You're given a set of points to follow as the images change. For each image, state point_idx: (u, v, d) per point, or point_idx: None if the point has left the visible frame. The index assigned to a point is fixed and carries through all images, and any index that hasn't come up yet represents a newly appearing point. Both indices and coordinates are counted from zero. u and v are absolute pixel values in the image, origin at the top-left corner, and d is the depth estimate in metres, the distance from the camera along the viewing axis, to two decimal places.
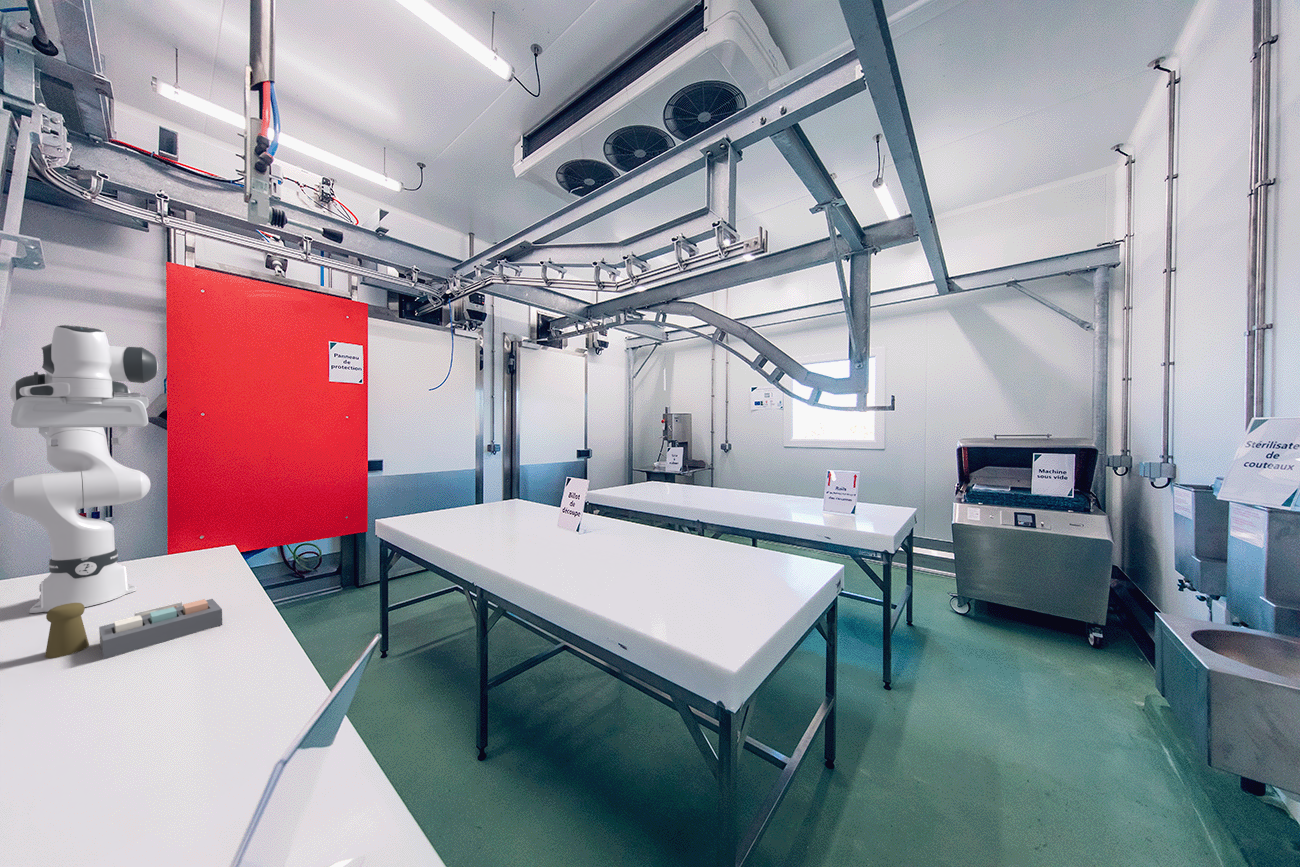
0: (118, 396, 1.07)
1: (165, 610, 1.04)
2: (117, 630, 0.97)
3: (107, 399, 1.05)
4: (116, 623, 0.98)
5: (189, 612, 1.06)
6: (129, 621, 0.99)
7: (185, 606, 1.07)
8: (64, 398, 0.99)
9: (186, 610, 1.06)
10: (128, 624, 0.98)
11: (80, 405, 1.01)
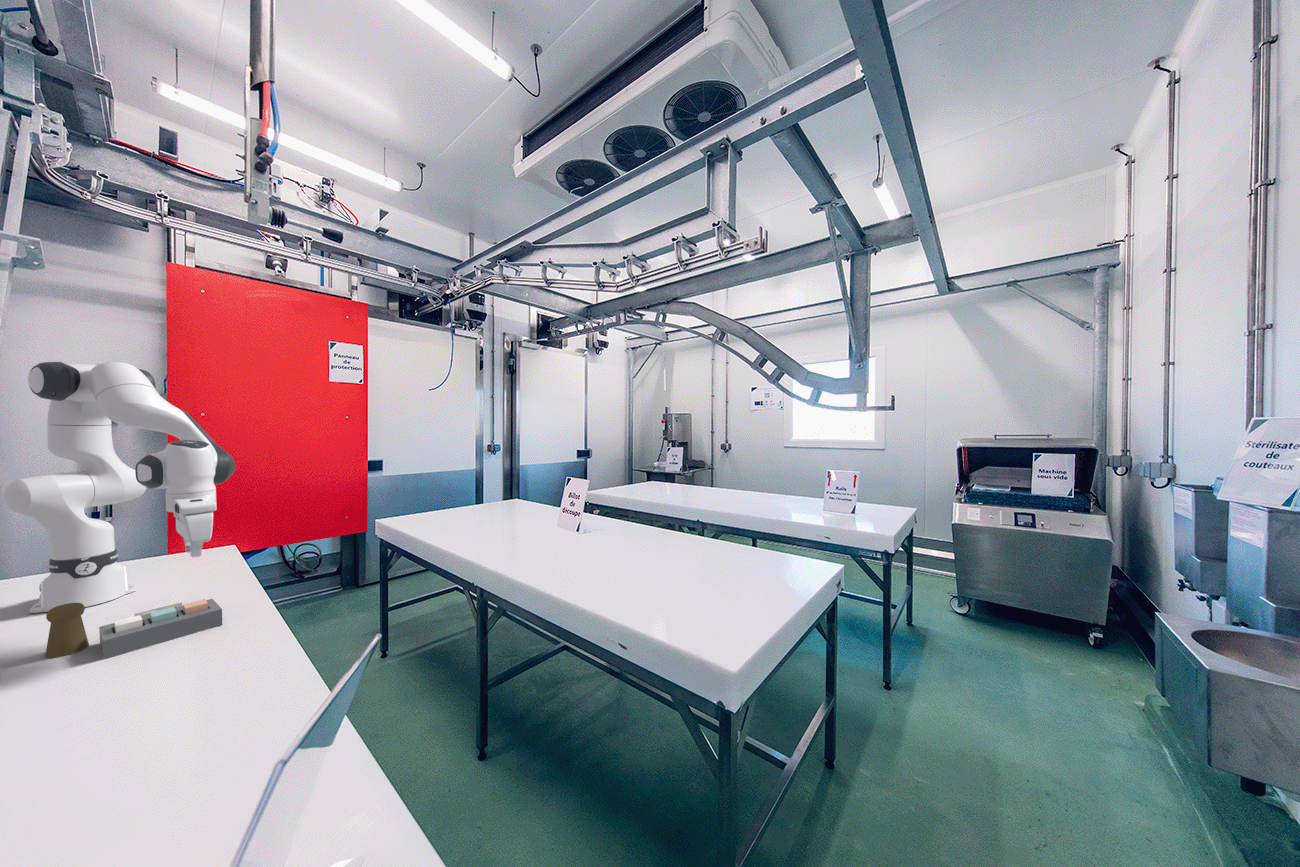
0: None
1: (165, 610, 1.04)
2: (117, 630, 0.97)
3: None
4: (116, 623, 0.98)
5: (189, 612, 1.06)
6: (129, 621, 0.99)
7: (185, 606, 1.07)
8: None
9: (186, 610, 1.06)
10: (128, 624, 0.98)
11: None
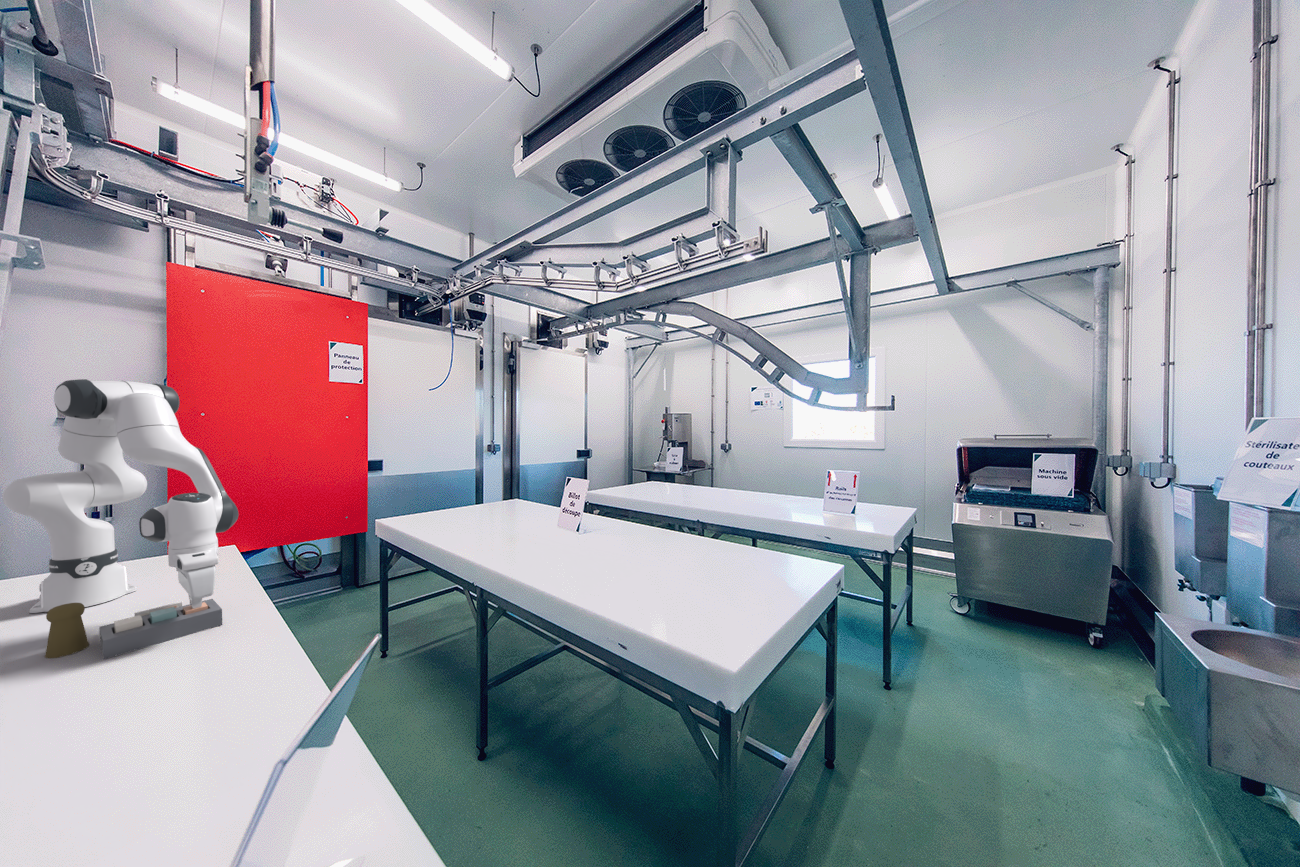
0: None
1: (165, 610, 1.04)
2: (117, 630, 0.97)
3: None
4: (116, 623, 0.98)
5: None
6: (129, 621, 0.99)
7: (185, 609, 1.07)
8: None
9: (186, 613, 1.06)
10: (128, 624, 0.98)
11: None
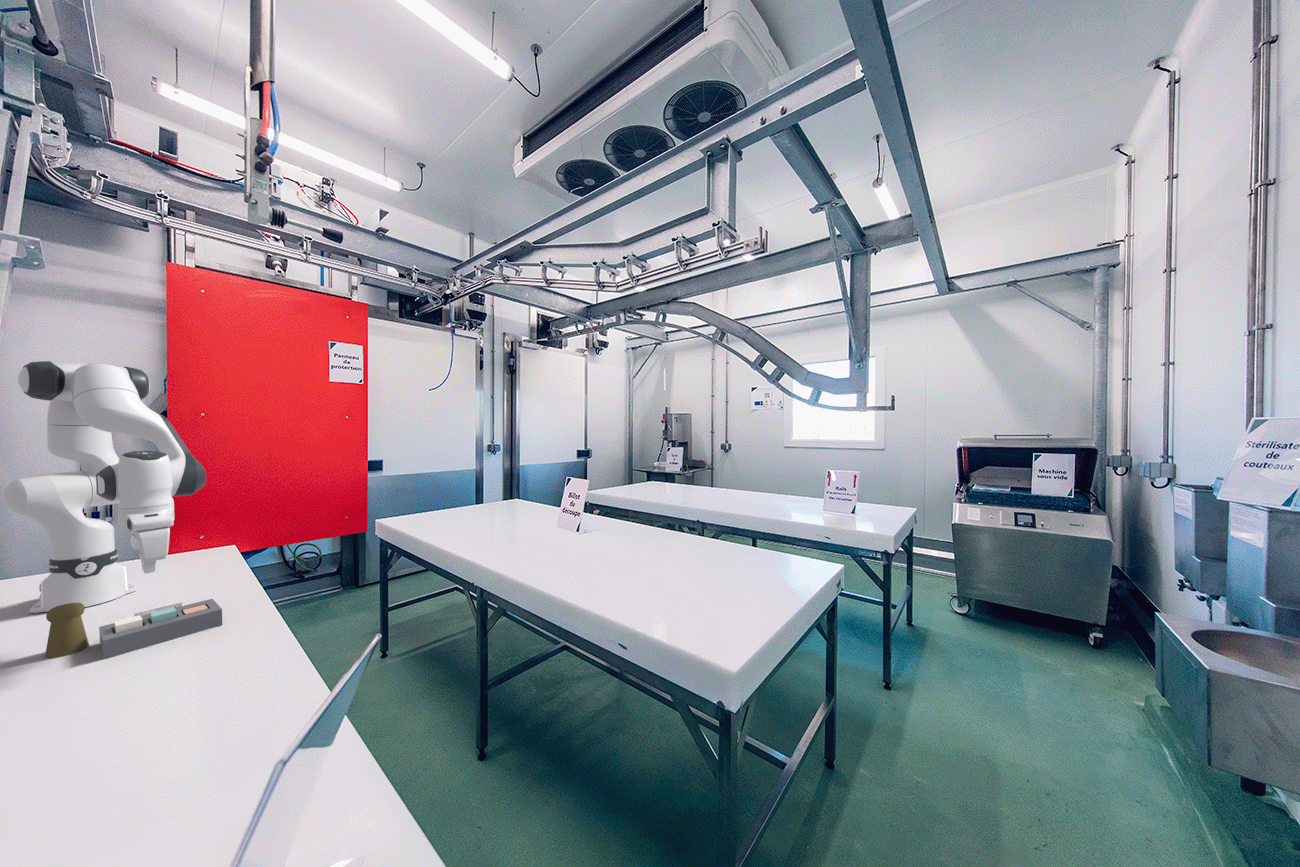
0: None
1: (165, 610, 1.04)
2: (117, 630, 0.97)
3: None
4: (116, 623, 0.98)
5: None
6: (129, 621, 0.99)
7: (185, 612, 1.07)
8: None
9: None
10: (128, 624, 0.98)
11: None
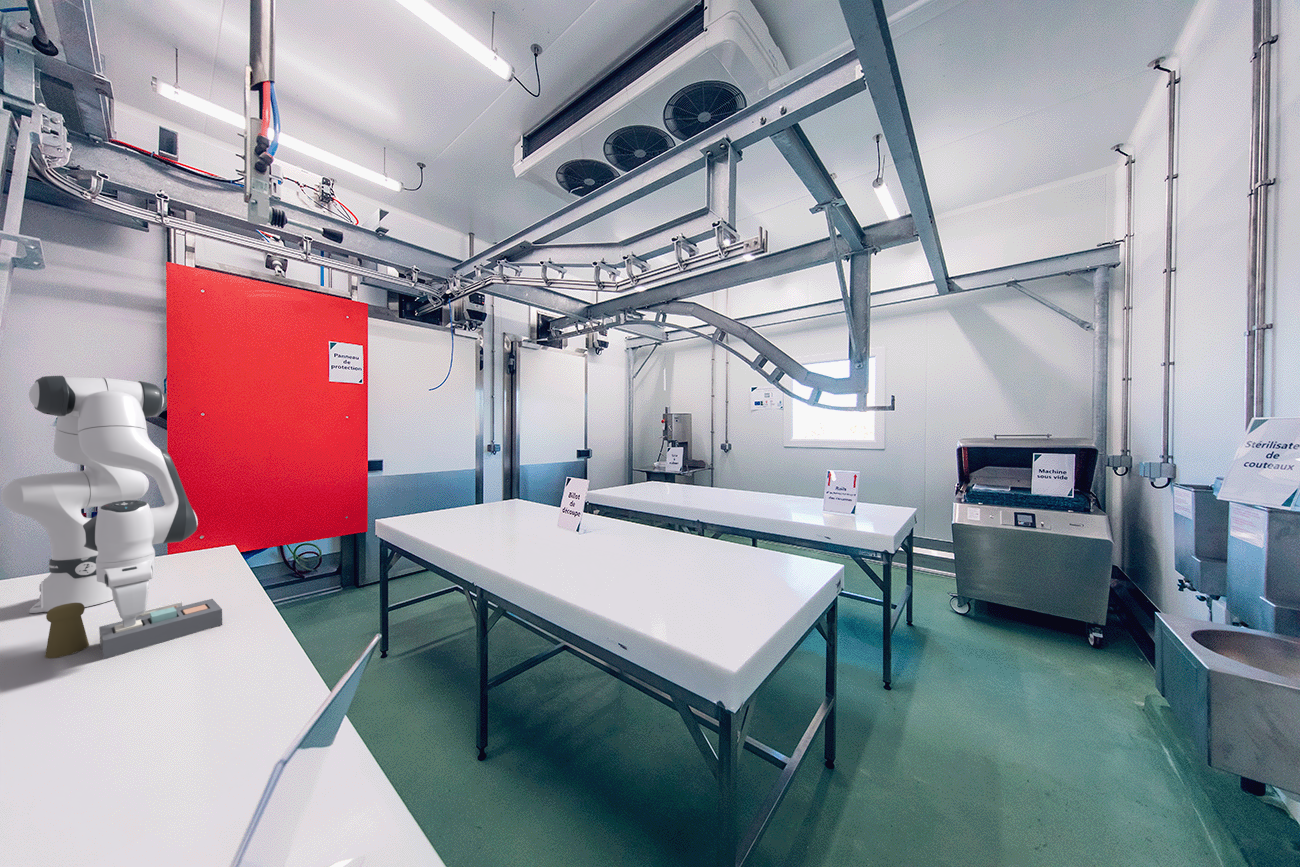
0: None
1: (165, 610, 1.04)
2: None
3: None
4: (116, 628, 0.98)
5: None
6: (129, 626, 0.99)
7: (185, 612, 1.07)
8: None
9: None
10: (128, 628, 0.98)
11: None
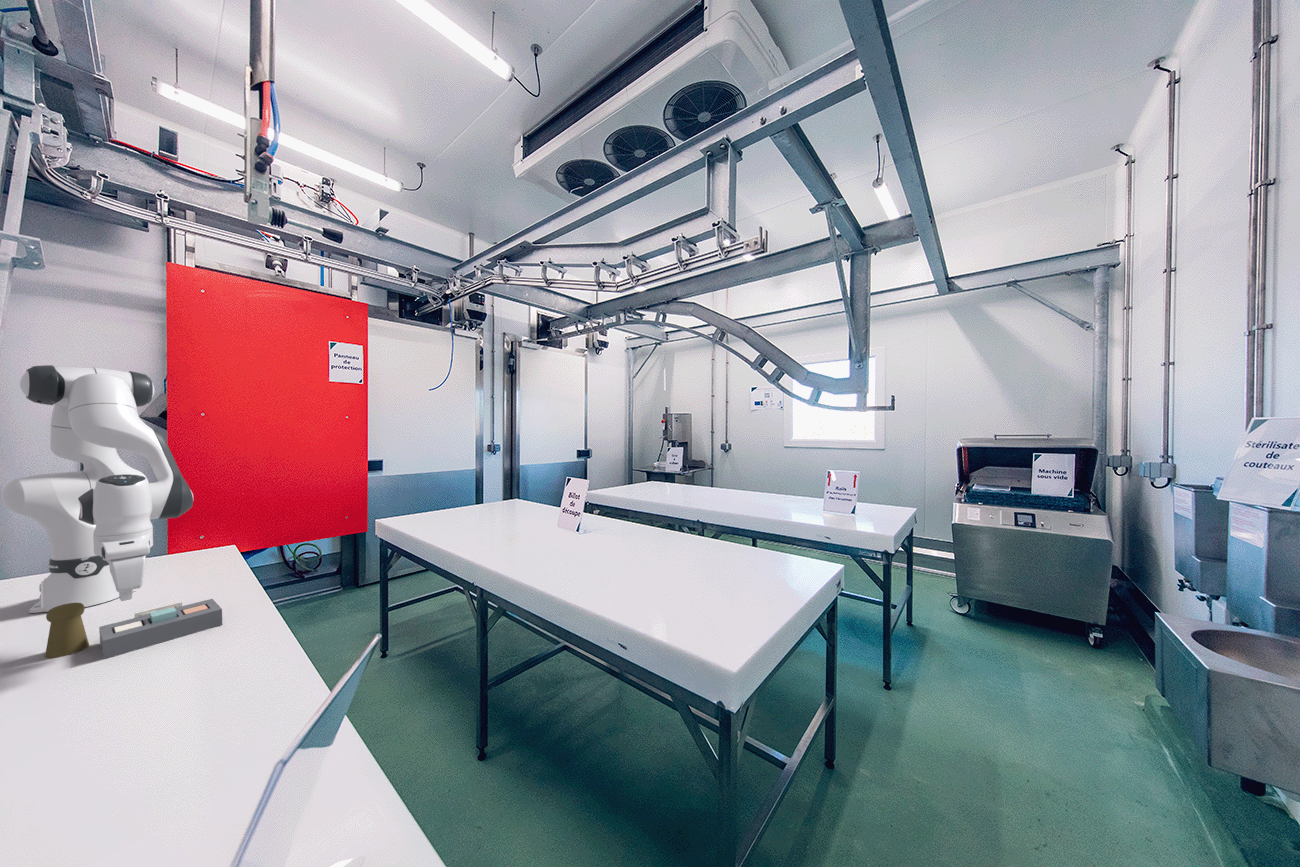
0: None
1: (165, 610, 1.04)
2: None
3: None
4: (116, 629, 0.98)
5: None
6: (129, 627, 0.99)
7: (185, 612, 1.07)
8: None
9: None
10: None
11: None
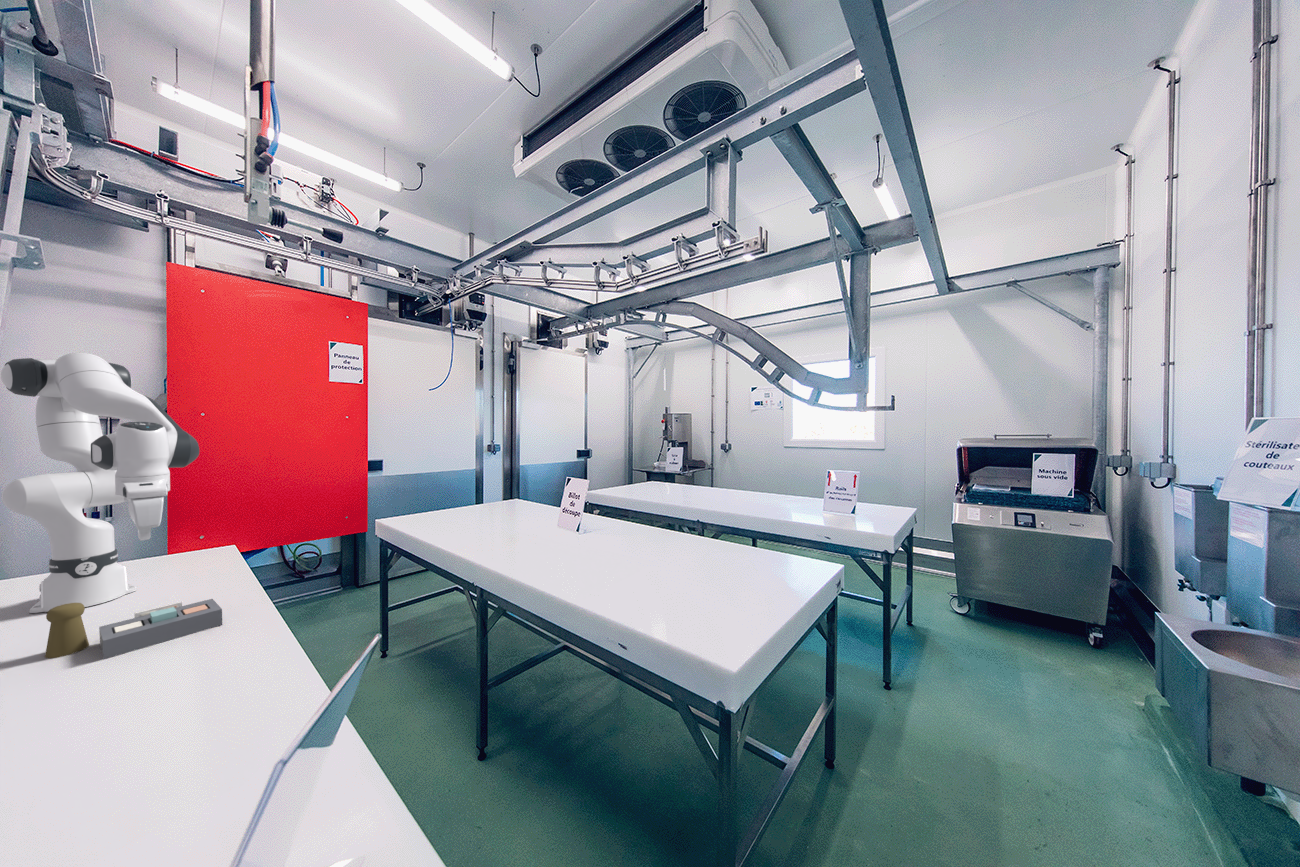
0: None
1: (165, 610, 1.04)
2: None
3: None
4: (116, 629, 0.98)
5: None
6: (129, 627, 0.99)
7: (185, 612, 1.07)
8: None
9: None
10: None
11: None
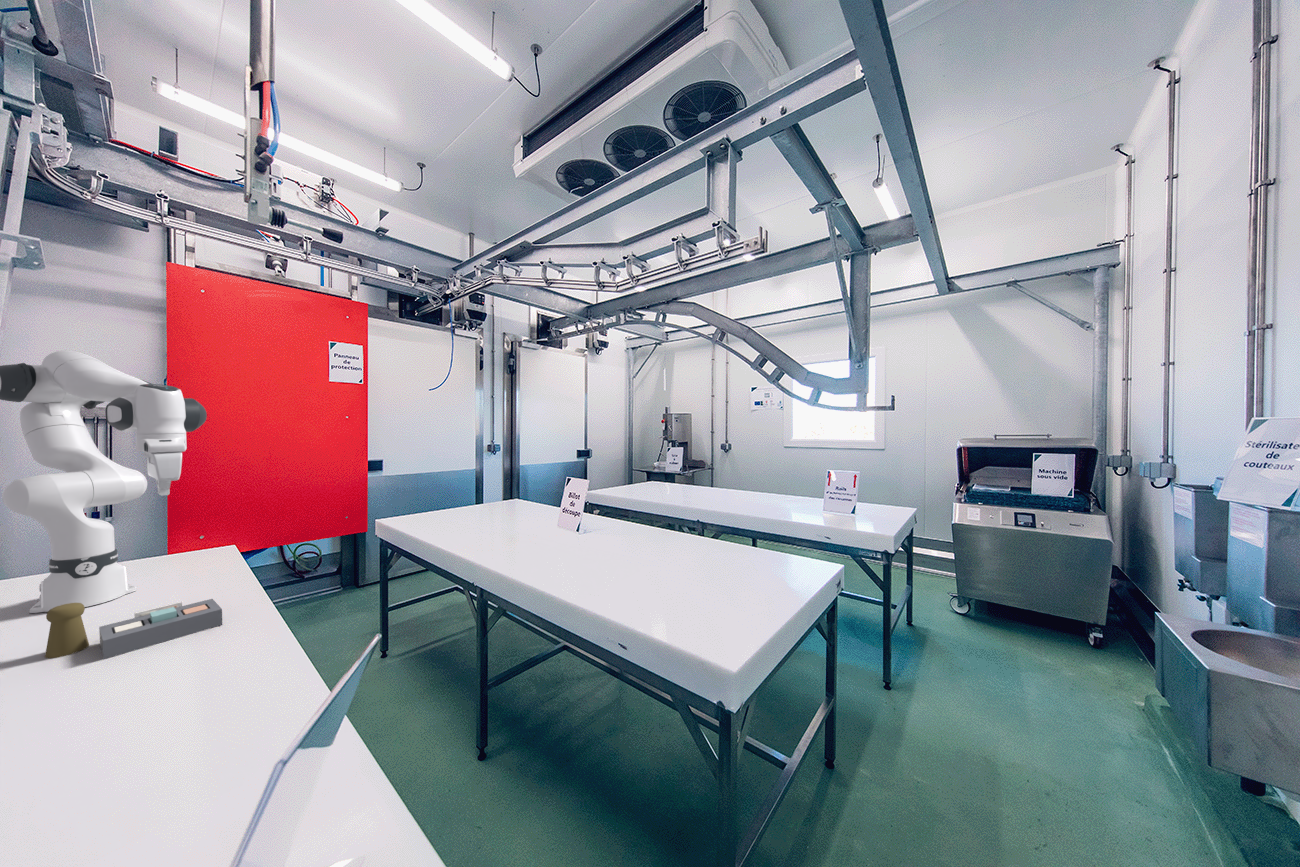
0: None
1: (165, 610, 1.04)
2: None
3: None
4: (116, 629, 0.98)
5: None
6: (129, 627, 0.99)
7: (185, 612, 1.07)
8: None
9: None
10: None
11: None
